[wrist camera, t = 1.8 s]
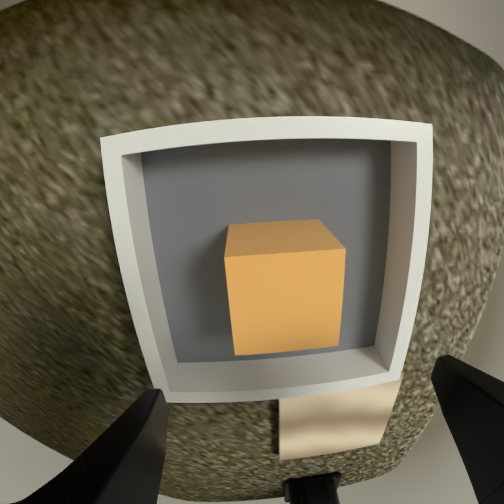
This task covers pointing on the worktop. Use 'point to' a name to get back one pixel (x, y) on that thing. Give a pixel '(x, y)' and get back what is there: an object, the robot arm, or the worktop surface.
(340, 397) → the pad
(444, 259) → the worktop surface
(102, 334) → the worktop surface
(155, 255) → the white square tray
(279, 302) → the block
